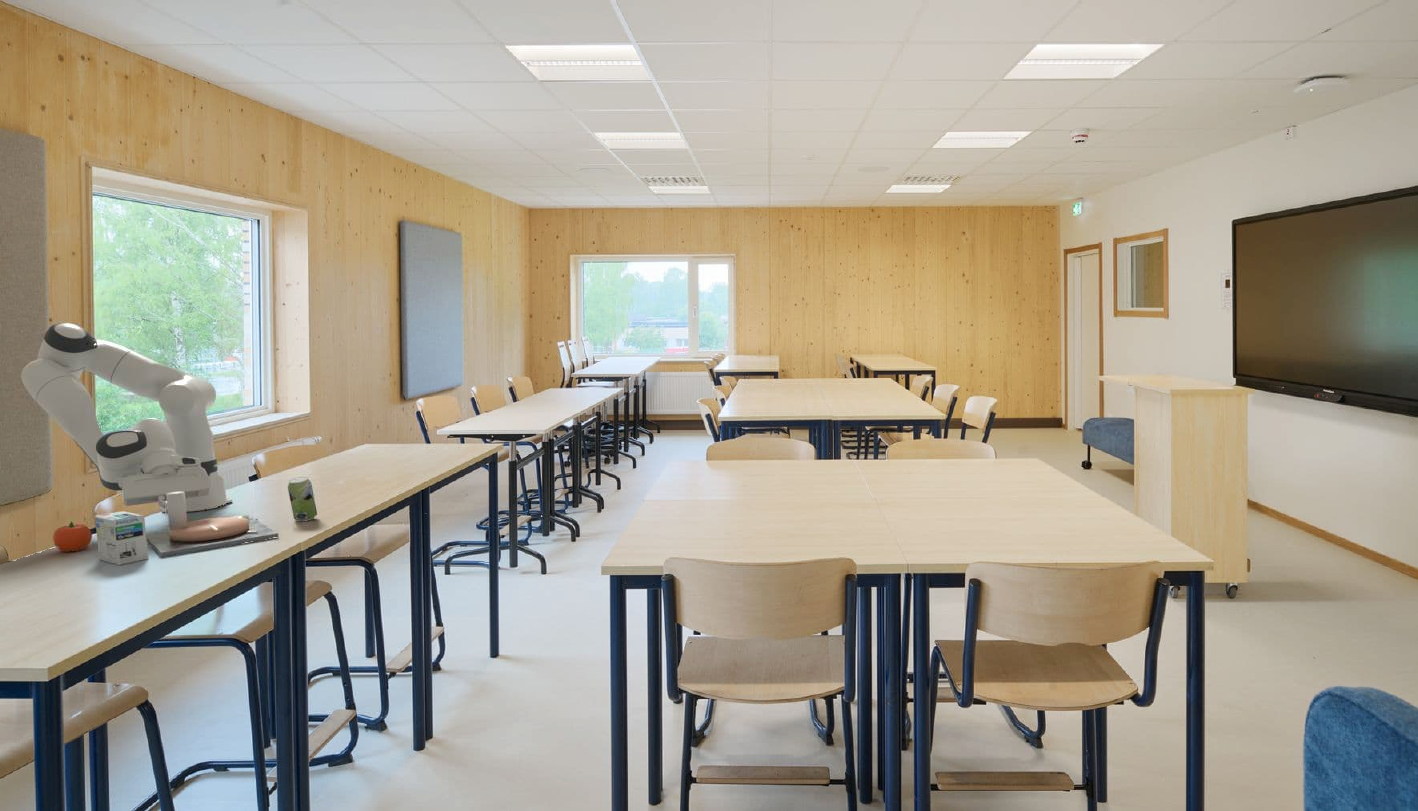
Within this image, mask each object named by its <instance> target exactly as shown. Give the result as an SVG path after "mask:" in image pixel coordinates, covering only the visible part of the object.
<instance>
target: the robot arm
mask: <svg viewBox="0 0 1418 811" xmlns="http://www.w3.org/2000/svg"><path fill="white" fill-rule="evenodd" d="M83 372H88V373H89V372H90V373H92V374H94V375H95V376H97V377H99V378H100V379H102V380H104V381H106V382H108V383H109V384H112V385H115V386H117V387H119V388H121V389H123V390H126V391H127V392H130V393H132V394H134V395H137V396H139V397H143V398H147V399H150V400H154V401H156V402H158V404H159V407H160V408H161V410H162V411H163V415H164V418H165V421H164V420H161V419H160V418H155V417H154V418H153V417H149V418H143V419H141V420H139V421H138V422H136V423H135V424H134V425H133V426H131V427H129V428H127V429H123V430H115V431H111V432H108V433H106V434H103V432H102V430H101V428H100V425H99V421H98V420H97V415H96V410H95V406H94V405H95V404H94V401H93V399H92V396H91V394H90V392H89V391H88V389H87V388H86V387H85V385H84V384H83V382H81V381H80V378H81V377H82V374H83ZM20 374H21V375H20V378H21V382H22V384H23V386H24V387H25V389H26V390H27V392H28V394H29V395H30V396H31V397H32V398H33V400H34V401H35V402H36V404H38V405H39V406H40V407H41V409H43V411H45V412H46V413H47V414H48V415H49V416H50V417H51V418H52V419H53V420H54V421H55V422H56V423H57V424H58V425H59V426H60V427H61V428H62V430H64V431H65V432H66V433H67V434H68V435H69V436H70V437H71V439H72V440H73V441H74V443H75V444H76V445H77V446H78V447H79V448H80V449H81V451H82V452H83V453H84V454H85V456H86V457H87V458H88V459H89V460H90V462H92V464H93V465H94V467H95V468H96V469H97V471H98V475H99V479H100V480H99V481H100V483H101V485H102V486H103V487H105V488H106V489H108V490H112V491H117V492H118V491H120V492H121V497H122V499H121V501H122V504H123V505H125V506H126V507H129V506H130V507H131V506H138V505H145V504H154V503H157V504H158V506H159V507H161V508H162V509H161V512H162V513H165V514H166V515H168V507H167V496H166V494H167V493H171V492H185V502H186V513H187V512H196V511H199V512H200V511H205V509H206V510H211V509H216V508H219V507H218V506H220V507H222V506H221V505H223V506H225V505H227V504H226V503H229V502H232V501H233V499H232V498H228V497H227V491H226V484H225V478H224V476H222V475H221V474H220V473H218V470H219V468H218V460H217V459H216V455H215V442H214V433H213V431H212V430H211V427H210V423H209V421H208V418H207V411H208V410H209V409H210V408H211V407H212V406H213V405H214V403H215V401H216V397H217V392H216V391H217V390H216V389H215V387H214V385H213V384H212V383H210V382H209V381H207V380H206V379H203V378H201V377H198V376H195V375H193V374H190V373H188V372H185V371H182V370H180V369H177V368H174V367H171V366H169V365H167V364H166V365H165V364H163V363H160V362H158V361H156V360H154V359H152V358H149V357H147V356H145V355H143V354H140V353H138V352H137V351H134V350H133V349H130V348H127V347H125V346H123V345H119V344H118V343H117V344H116V343H114V342H110V341H107V340H103V339H96V338H95V337H94V335H92V334H91V333H90V332H89V331H87V329H85V328H83V327H82V326H80V325H78V324H75V323H71V322H58V323H54V324H52V325H51V326H50V327H48V329H47V330H46V332H45V333H44V336H43V340H42V343H41V344H40V347H39V350H38V353H37V359H35V360H33V361H30V362H29V363H27V364H26V365H25V366H24V367H23V369H22V371H21V373H20ZM232 503H233V502H232ZM224 504H225V505H224ZM229 504H230V503H229Z"/></svg>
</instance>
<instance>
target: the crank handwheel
mask: <svg viewBox="0 0 1418 811" xmlns="http://www.w3.org/2000/svg"><path fill="white" fill-rule="evenodd" d="M166 496H167V507H168V513H167V515H168V516H167V519H168V527H169V529H168V530H169V537H170V539H171V540H174V541H203V540H212V539H219V538H224V537H229V536H233V535H237V534H240V533H243V532H245V531H247V530H248V529H249V520H248V519H246V518H241V517H234V516H231V517H230V516H226V517H211V518H203V519H196V520H193V521H192V520H191V521H188V517H187V512H186V502H185V492H171V493H167V494H166Z"/></svg>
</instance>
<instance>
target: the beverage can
mask: <svg viewBox="0 0 1418 811" xmlns="http://www.w3.org/2000/svg"><path fill="white" fill-rule="evenodd" d="M312 484H313V483H312V481H311V480H310V479H309V478H308V477H306V476H301V477H300V476H299V477H294V478H292V479H290V480H289V481H288V485H287V491H288V496H289V500H290V501H289V502H290V506H291V511H292V515H293V519H294V521H295V520H296V521H297V520H299V521H298V522H306V521H305V520H308V521H311V520H313V519H315V517H316V516H317V515H318V511H317V505H316V501H315V494H314V490H313V485H312ZM310 519H311V520H310Z"/></svg>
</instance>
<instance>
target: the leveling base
mask: <svg viewBox="0 0 1418 811" xmlns="http://www.w3.org/2000/svg"><path fill="white" fill-rule="evenodd" d="M233 517H241V518H246V519H248V520H249V529H248V530H247V531H245V532H243V533H240V534H237V535H233V536H229V537H224V538H219V539H212V540H203V541H174V540H171V539H170V537H169V529H168V530H163V531H162V530H161V531H156V532H149V533H146V540H147V542H148V543H147V545H149V546H150V545H151V546H150V547H151V548H152V549H153V550H154V551H155V553H157V555H159V557H160V558H161V559H162V558H166V557H167V558H168V557H173V556H178V555H184V554H185V553H186V554H190V553H191V554H192V553H197V552H204V551H208V550H207V549H209V550H214V549H219V548H220V547H221V548H225V546H227V547H230V546H229V545H233V546H238V545H243V544H242V543H245V542H251V541H257V542H261V541H260V540H263V541H266V540H265V539H269V538H273V537H279V533H278V532H276V531H275V530H273V529H271V527H269V526H267V525H265V524H264V523H262V522H261V521H259V520H257V519H255V518H254V517H250V515H248V514H242V515H240V514H239V515H234V516H233ZM269 540H270V539H269ZM251 543H252V542H251ZM245 544H246V543H245ZM221 548H220V549H221ZM203 550H204V551H203ZM186 554H185V555H186Z"/></svg>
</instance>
